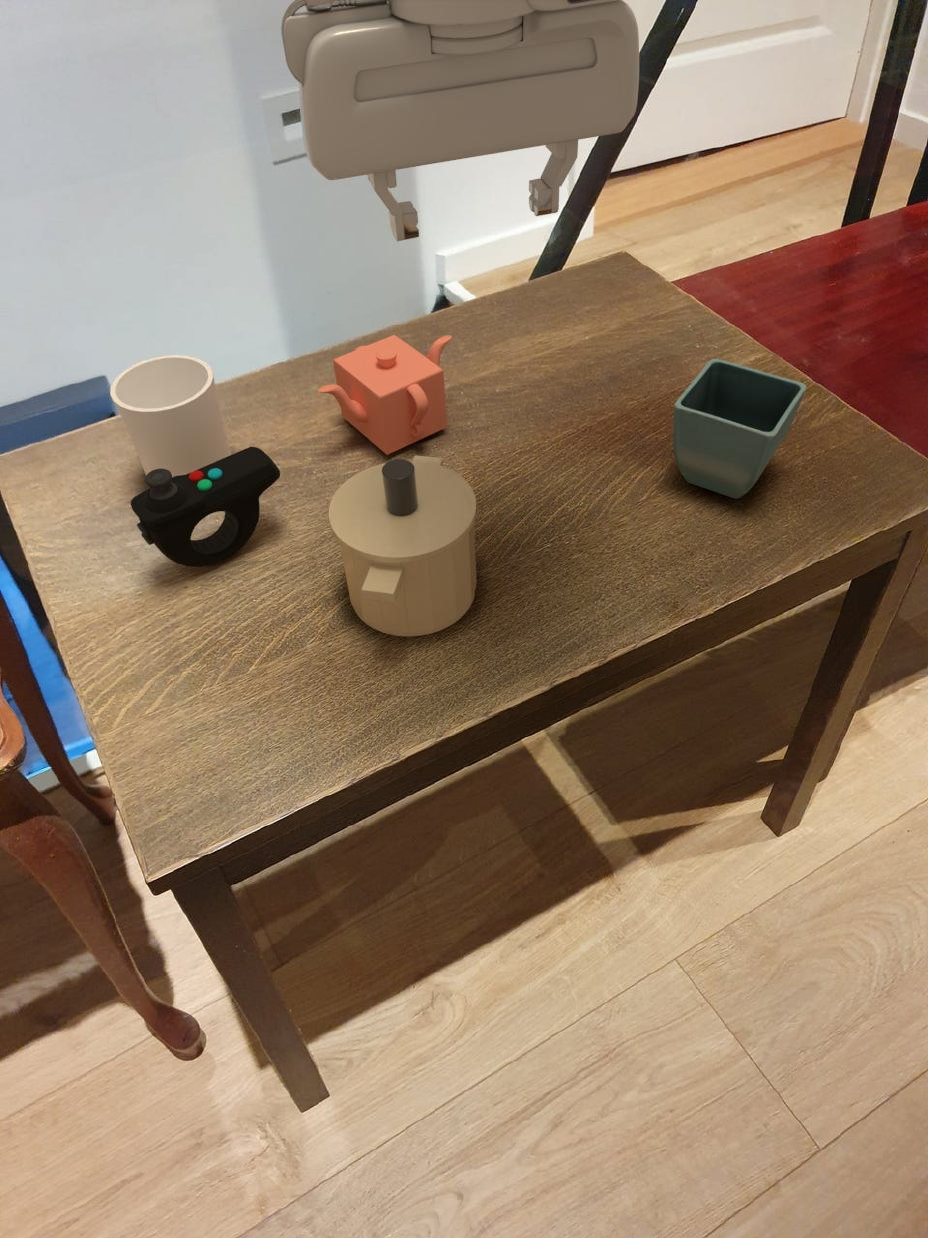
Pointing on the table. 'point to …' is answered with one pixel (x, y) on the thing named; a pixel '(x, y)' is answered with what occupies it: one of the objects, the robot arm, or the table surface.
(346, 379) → the teapot
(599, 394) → the table surface
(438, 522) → the lid
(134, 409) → the mug
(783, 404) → the flower pot
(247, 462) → the controller
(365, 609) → the pot
